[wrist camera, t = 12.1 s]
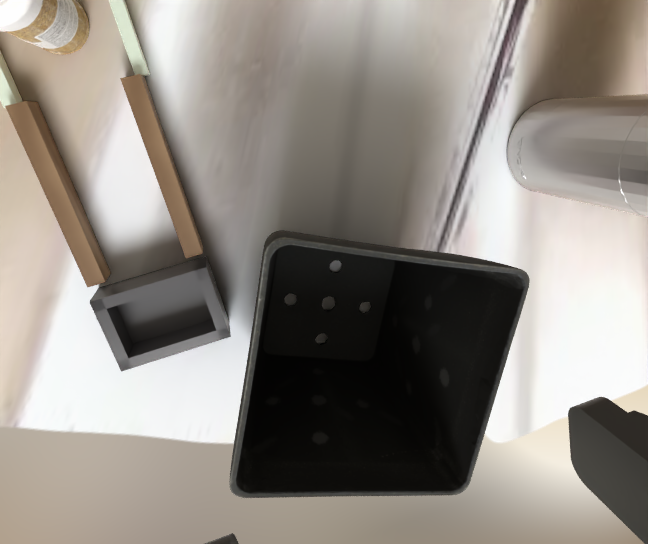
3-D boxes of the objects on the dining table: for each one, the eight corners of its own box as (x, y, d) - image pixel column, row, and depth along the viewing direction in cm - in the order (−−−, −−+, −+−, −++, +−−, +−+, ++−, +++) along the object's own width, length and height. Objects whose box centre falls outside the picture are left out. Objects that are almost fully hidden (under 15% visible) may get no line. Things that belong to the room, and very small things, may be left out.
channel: (144, 76, 39) (139, 73, 36) (203, 246, 44) (202, 253, 42) (17, 106, 37) (5, 105, 35) (94, 277, 43) (87, 287, 40)
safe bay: (99, -75, 35) (94, -83, 34) (150, 74, 39) (148, 73, 37) (-58, -44, 34) (-69, -51, 32) (11, 108, 37) (3, 107, 36)
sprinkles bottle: (12, 21, 36) (-94, -30, 23) (51, -25, 35) (-34, -101, 23) (66, 69, 37) (-6, 46, 25) (104, 25, 37) (51, -20, 25)
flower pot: (247, 194, 43) (267, 237, 28) (432, 221, 48) (537, 271, 33) (221, 377, 49) (227, 500, 33) (391, 385, 54) (466, 495, 38)
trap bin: (206, 256, 44) (206, 267, 41) (229, 321, 47) (230, 336, 44) (98, 287, 43) (89, 301, 40) (127, 353, 45) (121, 371, 42)
